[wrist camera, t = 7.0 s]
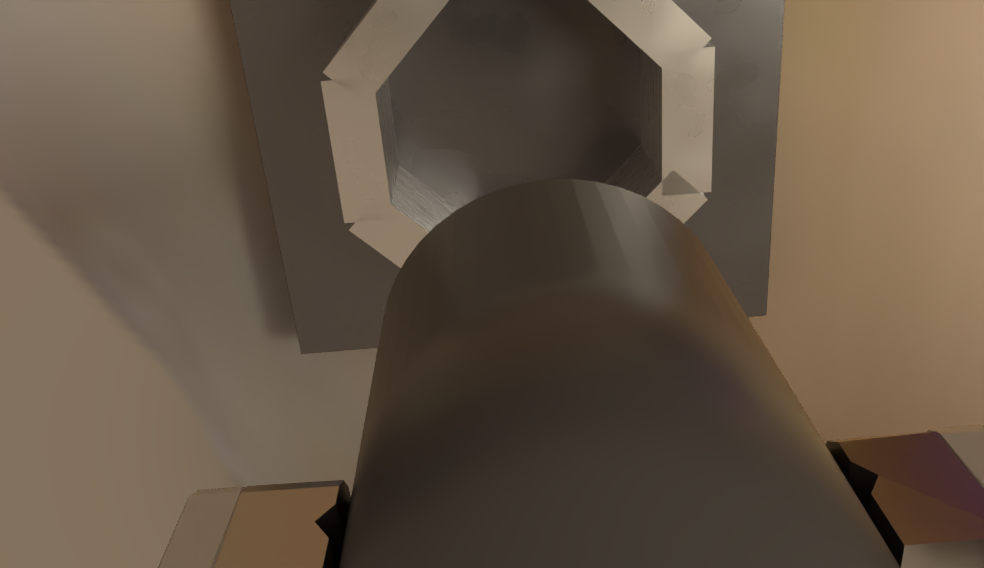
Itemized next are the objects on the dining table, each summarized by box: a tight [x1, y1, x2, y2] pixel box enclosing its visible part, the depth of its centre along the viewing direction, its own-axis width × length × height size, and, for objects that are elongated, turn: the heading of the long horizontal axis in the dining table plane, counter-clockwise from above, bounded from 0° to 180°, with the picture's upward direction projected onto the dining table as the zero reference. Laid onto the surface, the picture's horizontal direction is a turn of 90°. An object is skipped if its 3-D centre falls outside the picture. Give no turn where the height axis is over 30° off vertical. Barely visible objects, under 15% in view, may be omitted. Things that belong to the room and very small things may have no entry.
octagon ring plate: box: [229, 0, 785, 354], centre depth 23 cm, size 14×14×4 cm
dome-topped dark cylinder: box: [339, 179, 900, 568], centre depth 9 cm, size 5×5×8 cm
